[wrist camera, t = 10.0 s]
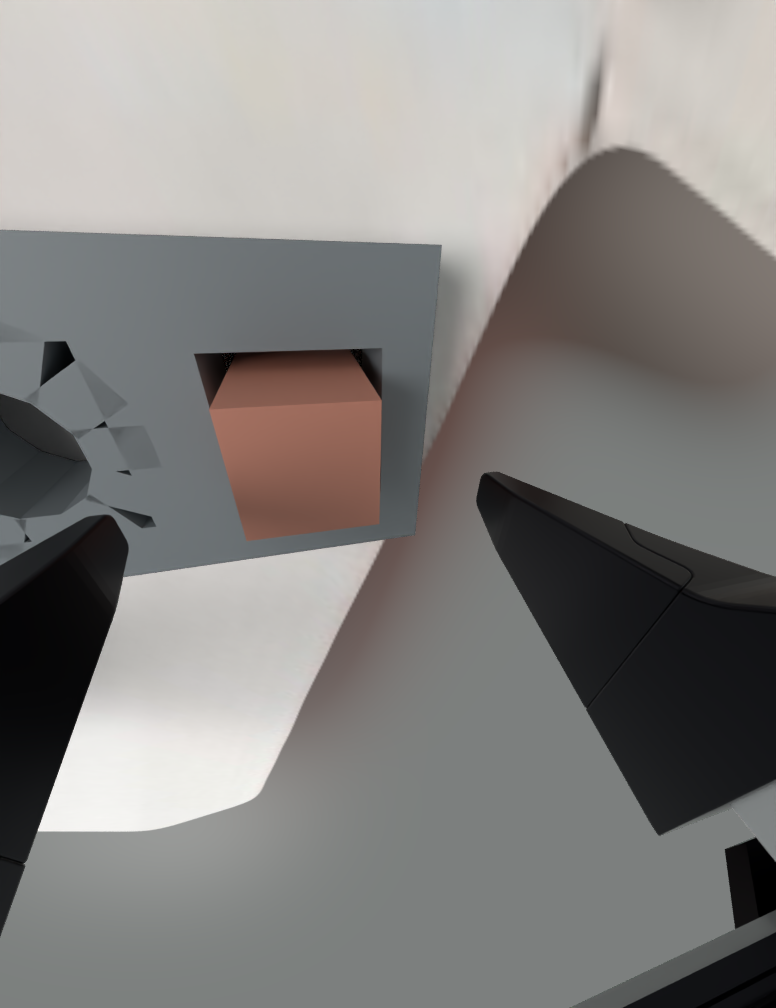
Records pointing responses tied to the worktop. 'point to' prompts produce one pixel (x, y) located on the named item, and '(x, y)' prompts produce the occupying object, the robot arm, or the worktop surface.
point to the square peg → (300, 441)
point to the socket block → (193, 377)
